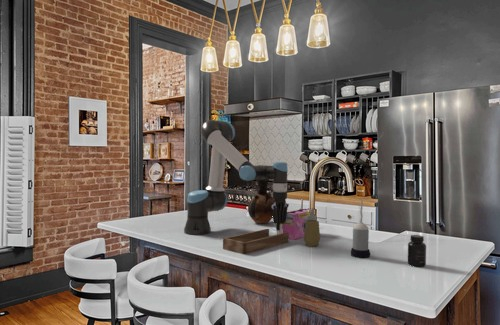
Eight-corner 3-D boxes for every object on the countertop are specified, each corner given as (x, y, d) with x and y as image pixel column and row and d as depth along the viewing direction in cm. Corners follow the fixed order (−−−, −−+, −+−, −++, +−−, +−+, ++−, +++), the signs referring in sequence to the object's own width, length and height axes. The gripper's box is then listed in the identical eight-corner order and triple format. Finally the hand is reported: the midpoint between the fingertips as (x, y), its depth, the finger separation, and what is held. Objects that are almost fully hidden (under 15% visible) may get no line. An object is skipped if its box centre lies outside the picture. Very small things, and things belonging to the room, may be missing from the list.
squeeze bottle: (321, 244, 184) (321, 208, 183) (318, 248, 176) (319, 210, 176) (305, 242, 186) (305, 207, 186) (302, 246, 179) (302, 209, 178)
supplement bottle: (404, 262, 153) (404, 234, 153) (419, 262, 153) (420, 234, 153) (413, 267, 146) (413, 237, 146) (429, 267, 147) (429, 237, 146)
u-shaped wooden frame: (222, 248, 172) (223, 238, 172) (267, 237, 196) (267, 228, 196) (244, 254, 163) (244, 243, 162) (288, 242, 187) (288, 232, 187)
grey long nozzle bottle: (373, 256, 163) (374, 200, 162) (364, 259, 157) (365, 201, 157) (356, 252, 169) (357, 198, 168) (347, 255, 163) (348, 199, 163)
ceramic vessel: (262, 219, 255) (262, 176, 254) (282, 222, 243) (283, 177, 242) (241, 223, 239) (242, 177, 239) (261, 226, 227) (262, 178, 227)
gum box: (305, 231, 215) (306, 208, 215) (317, 233, 210) (317, 209, 210) (281, 237, 197) (282, 212, 197) (294, 240, 192) (294, 214, 192)
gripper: (277, 192, 185) (277, 239, 185) (293, 191, 194) (292, 235, 195) (266, 191, 190) (265, 236, 190) (281, 190, 199) (281, 233, 200)
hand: (279, 236), depth 192 cm, fingers closed
